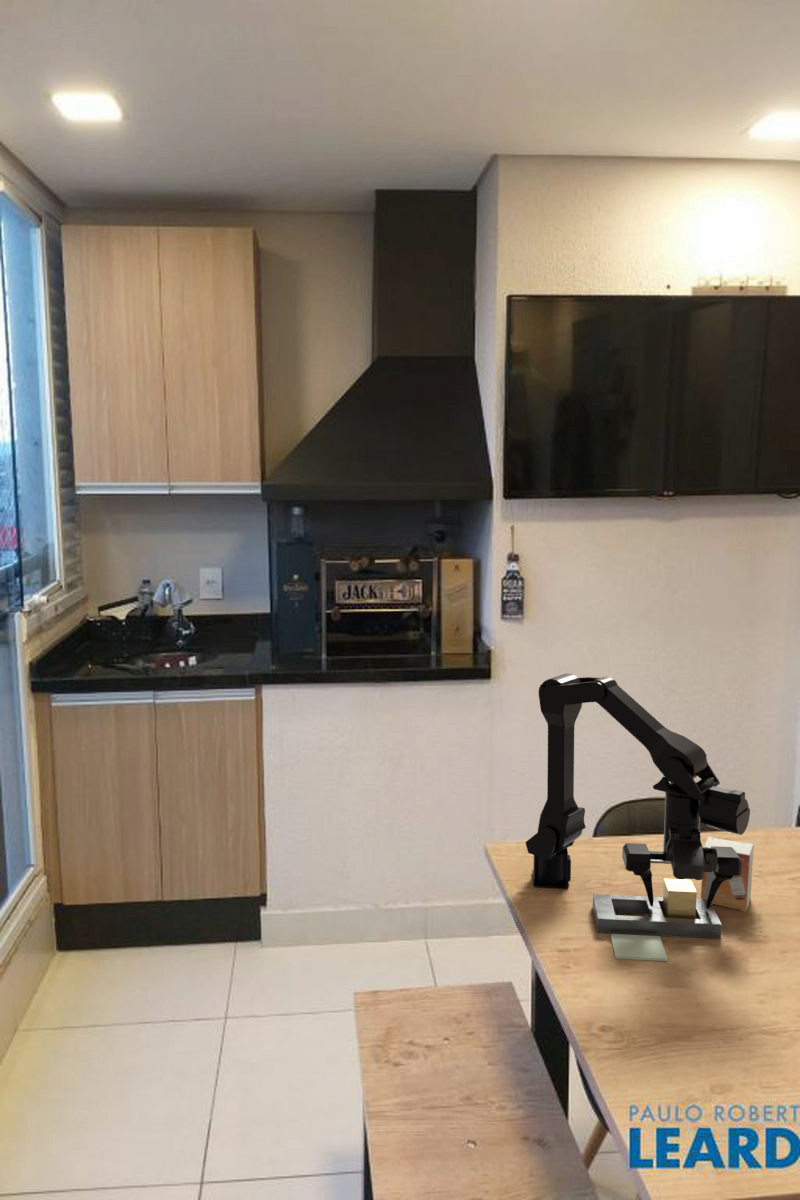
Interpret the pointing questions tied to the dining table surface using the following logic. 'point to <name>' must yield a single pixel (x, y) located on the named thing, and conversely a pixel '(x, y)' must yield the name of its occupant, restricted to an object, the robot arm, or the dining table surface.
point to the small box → (738, 887)
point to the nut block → (679, 899)
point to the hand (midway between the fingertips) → (679, 906)
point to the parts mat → (638, 947)
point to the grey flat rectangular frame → (652, 918)
